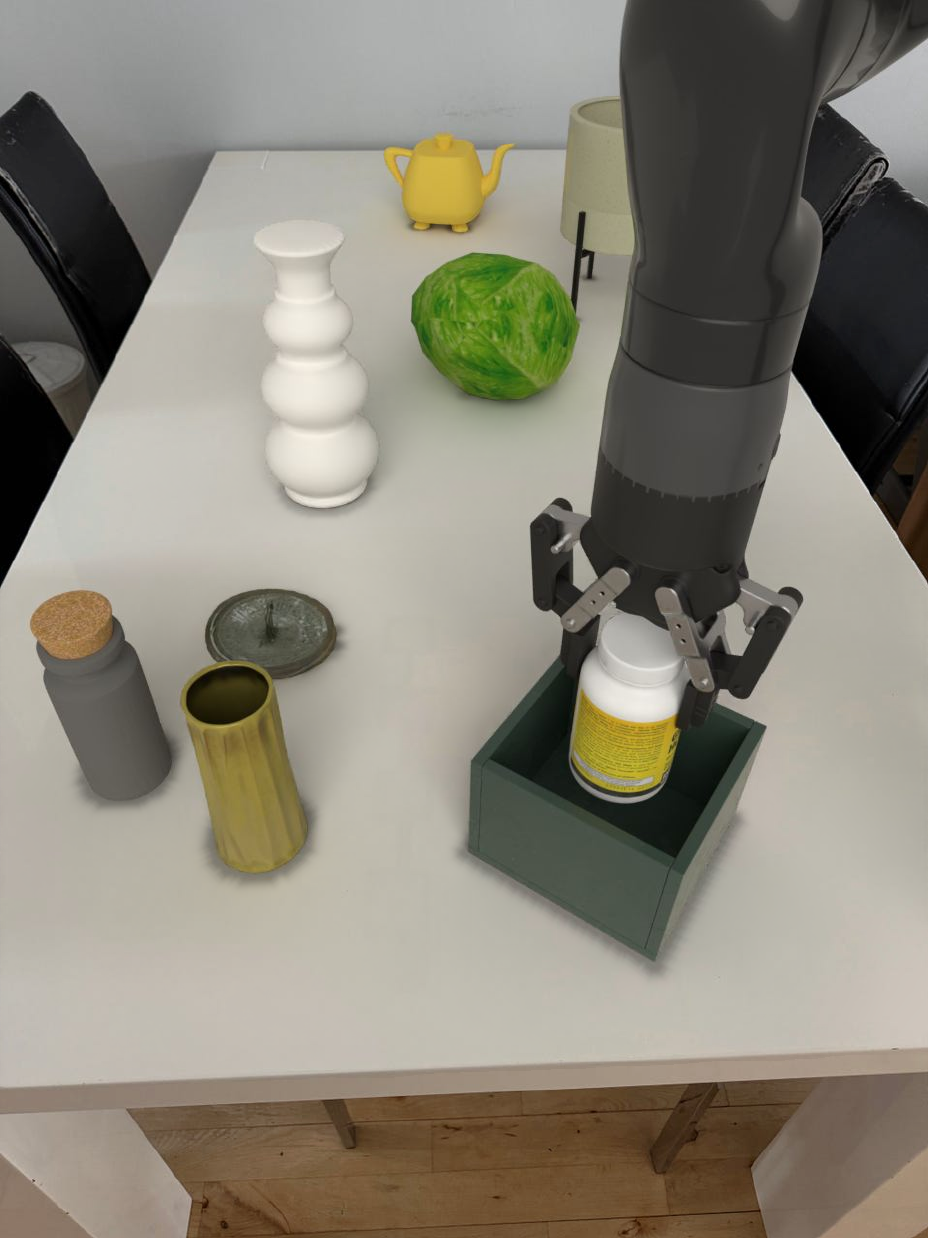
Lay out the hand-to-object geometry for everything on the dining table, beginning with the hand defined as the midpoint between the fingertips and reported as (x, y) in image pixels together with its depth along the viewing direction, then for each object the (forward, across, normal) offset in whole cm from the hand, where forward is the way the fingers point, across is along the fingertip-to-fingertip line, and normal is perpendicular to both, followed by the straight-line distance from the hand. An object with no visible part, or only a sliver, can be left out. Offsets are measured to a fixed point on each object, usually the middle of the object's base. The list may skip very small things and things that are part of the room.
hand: (632, 694), depth 52 cm
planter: (+14, -38, +76) cm, 86 cm away
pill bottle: (+7, 0, 0) cm, 7 cm away
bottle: (+15, -31, -14) cm, 37 cm away
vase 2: (+15, -41, +20) cm, 48 cm away
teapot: (+14, -73, +87) cm, 114 cm away
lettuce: (+14, -39, +47) cm, 63 cm away
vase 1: (+15, -19, -13) cm, 27 cm away
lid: (+15, -31, +1) cm, 34 cm away
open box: (+14, 0, 0) cm, 14 cm away
